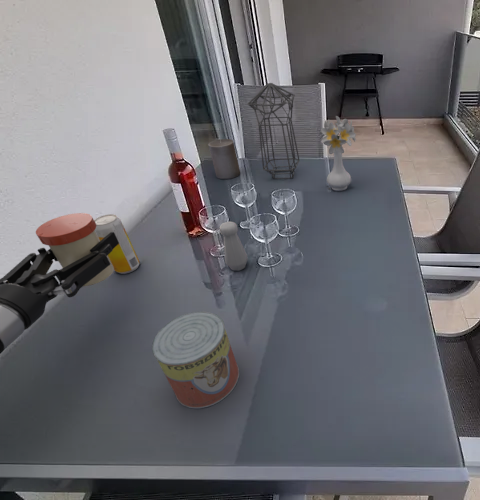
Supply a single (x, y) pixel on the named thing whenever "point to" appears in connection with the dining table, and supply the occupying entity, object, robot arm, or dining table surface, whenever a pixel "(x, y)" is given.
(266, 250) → the dining table surface
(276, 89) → the geometric lantern
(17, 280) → the robot arm
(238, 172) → the pillar candle
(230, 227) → the salt shaker
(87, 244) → the jam jar
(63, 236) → the lid
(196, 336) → the canned food
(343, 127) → the flower vase
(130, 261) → the beer can
